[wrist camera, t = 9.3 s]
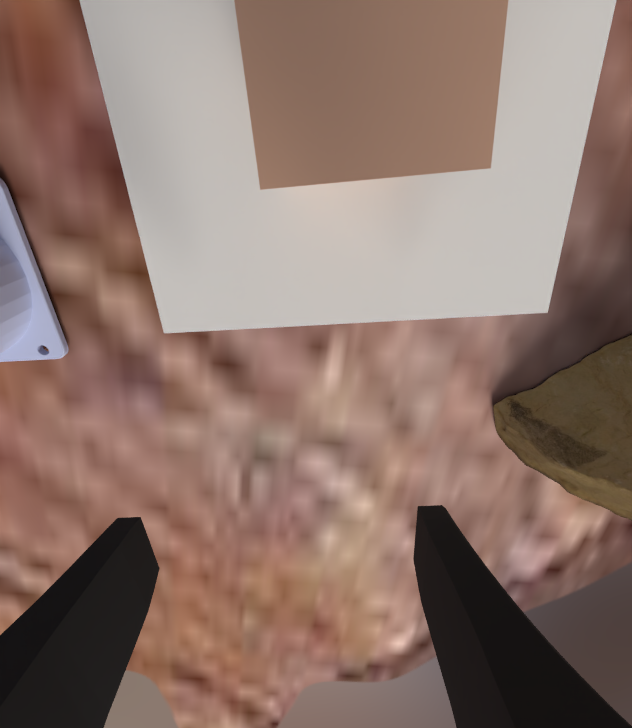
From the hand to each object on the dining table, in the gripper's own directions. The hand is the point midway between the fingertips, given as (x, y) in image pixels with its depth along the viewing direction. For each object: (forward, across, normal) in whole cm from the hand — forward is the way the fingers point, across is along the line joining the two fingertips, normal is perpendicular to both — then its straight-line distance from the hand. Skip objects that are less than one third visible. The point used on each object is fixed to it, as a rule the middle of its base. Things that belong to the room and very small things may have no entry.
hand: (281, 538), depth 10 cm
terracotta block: (+7, -2, -11) cm, 13 cm away
